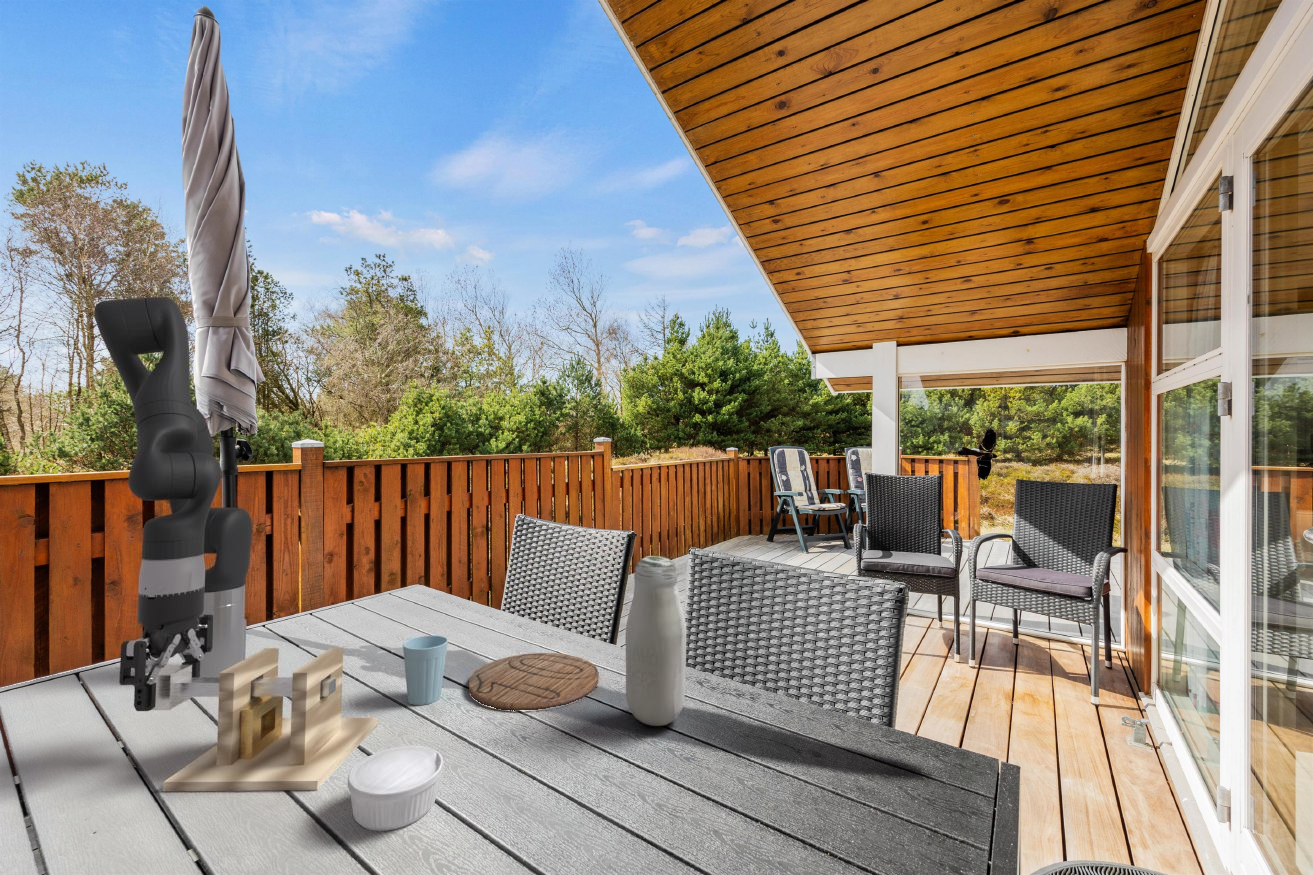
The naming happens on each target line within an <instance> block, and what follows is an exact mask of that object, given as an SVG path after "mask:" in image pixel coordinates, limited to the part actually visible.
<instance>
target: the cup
mask: <svg viewBox="0 0 1313 875" xmlns="http://www.w3.org/2000/svg"><path fill="white" fill-rule="evenodd" d="M448 643H449V639H448V638H447V637H446V636H442V635H436V634H435V635H431V634H430V635H422V636H416V637H413V638H410V639H409V638H408V640H406V641H404V642H403V643H402V650H403V651H402V652H403V661H404V670H405V671H404V672H405V681H406V682H405V683H406V693H407V702H408V703H409V704H410V705H412V704H413V706H424V705H425V704H426V705H429V704H433V703H436V702H438V700H440V697H441V694H442V688H443V687H442V686H443V681H444V679H443V678H444V672H445V666H446V658H447V650H448ZM432 702H433V703H432ZM426 705H425V706H426Z"/></svg>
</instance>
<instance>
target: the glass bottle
mask: <svg viewBox="0 0 1313 875" xmlns="http://www.w3.org/2000/svg"><path fill="white" fill-rule="evenodd" d="M633 576H634V586H633V587H634V589H633V596H632V597H633V598H632V600H631V604H630V607H629V608H630V609H629V613H628V616H627V620H626V626H625V637H624V638H625V696H626V701H627V702H626V703H627V706H628V709H629V711H630V712H631V714H632V716H633V717H634V718H635V719H636V720H638V721H639V722H641V723H643V724H645V725H648V726H653V727H661V726H662V727H663V726H666V725H668V724H671V723H673V722H674V721H675V719H677V718H678V716H679V715H680V713H681V711H682V709H683V707H684V702H685V694H686V668H687V665H686V664H687V662H686V661H687V660H686V659H687V625H686V618H685V615H684V614H685V613H684V611H683V607H682V603H681V600H680V592H679V589H678V588H679V587H678V583H677V582H678V570H677V566H676V564H675V562H673V560H671V559H670V558H667V557H664V556H659V555H648V556H647V555H646V556H645V557H643V558H641V559H640V560H639V561H638V562H637V564H636V566H635V570H634V575H633Z"/></svg>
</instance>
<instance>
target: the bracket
mask: <svg viewBox="0 0 1313 875" xmlns="http://www.w3.org/2000/svg"><path fill="white" fill-rule="evenodd" d="M279 650H280V648H279V647H278V648H277V647H276V648H275V647H273V648H271V647H266V648H264V649H262V650H260V651H258V652H257V653H254V654H253V655H250V656H248V657H247V658H245V660H243V661H241V662H239V663H237V664H235V665H234V666H232V667H230V668H228V669H226V670H224V671H222V672H220V679H219V697H218V709H217V710H218V712H217V714H218V715H217V717H218V718H217V738H216V739H217V742H216V744H215V745H214V746H212V747H210V749H208V750H207V751H206V752H204V753H202V754H201V755H199V756H198V757H196V759H194V760H192V762H189V763H188V764H187V765H185V766H184V767H183V768H182V769H180V770H178V771H177V772H175V773H174V774H173V775H171V776H170V777H168V778H167V779H165V781H163V783H162V792H225V791H226V792H228V791H229V792H231V791H232V792H235V791H236V792H238V791H239V792H242V791H244V792H245V791H247V792H249V791H250V792H251V791H255V792H256V791H318V790H319V788H321V787H322V785H323V784H324V783H326V781H327V780H328V779H329V778H330V777H331V776H332V775H333V774H334V773H335V772H336V770H338V769H339V767H340V766H341V765H342V764H344V762H345V761H346V760H347V759H348V758H349V757H350V756H351V754H352V753H354V752H355V750H356V749H357V748H358V747H359V746H360V745H361V744H362V743H363V742H364V740H365V739H367V737H368V736H369V735H370V734H371V733H372V732H373V731H374V730H375V729H376V728H377V727H378V725H379V717H342V706H343V705H342V703H343V674H344V672H343V671H344V670H343V669H344V647H343V648H341V647H337V648H336V647H330V648H328V649H327V650H326V651H324V652H322V653H321V654H319V655H318V656H316V657H315V658H313V659H312V660H310V661H309V662H307V663H306V664H304V665H303V666H301V667H299V668H297V670H295V671H293V672H292V677H293V678H292V696H291V710H290V711H291V713H290V714H291V716H290V717H284V718H283V717H282V735H281V736H280V737H279V738H277V739H276V740H275V741H274V742H272V743H271V744H270V745H269V746H267V747H266V748H265V749H264V750H263V751H261V752H260V753H259V754H258V755H256V756H255V757H254V758H253V759H240V748H241V718H242V709H244V708H245V707H247V706H248V705H250V704H251V703H253V702H254V701H256V700H257V699H259V698H260V697H250V694H251V681H252V680H254V679H255V678H257V677H279ZM326 677H336V691H335V692H333V693H332V694H331V695H330V696H320V685H321V680H323V679H324V678H326ZM264 718H265V714H264V715H263V716H261V731H262V730H263V729H264Z"/></svg>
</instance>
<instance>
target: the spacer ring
mask: <svg viewBox="0 0 1313 875" xmlns="http://www.w3.org/2000/svg"><path fill="white" fill-rule="evenodd" d="M283 703H284V696H274V697H260V698H259V699H257V700H256V701H254V702H253V703H251V704H250V705H248V706H247V707H245V708H244V709H242V718H241V748H240V759H253V758H254V757H255V756H256V755H258V754H259V753H260V752H261V751H263V750H264V749H265V748H266V747H267V746H269V745H270V744H271V743H272V742H274V741H275V740H276V739H277V738H279V737H280V736H281V735H282V718H283V712H284V710H283V709H284V708H283V707H284V704H283ZM264 714H265V718H264V729H263V730H262V731H261V716H263V715H264Z"/></svg>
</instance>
